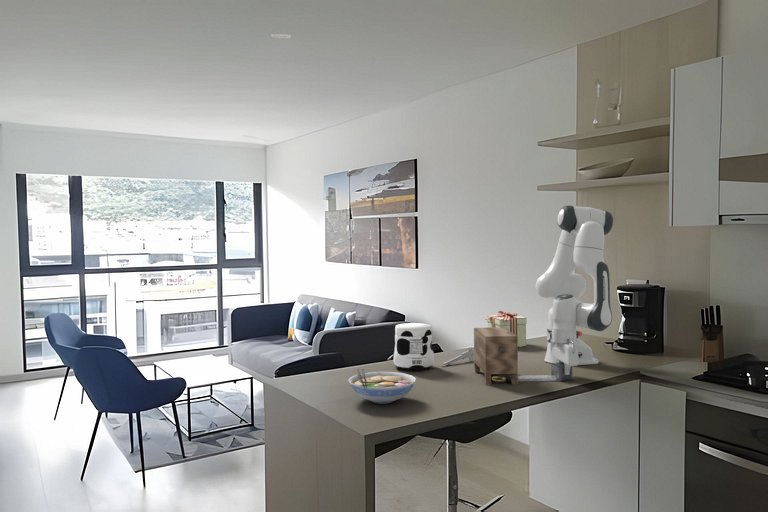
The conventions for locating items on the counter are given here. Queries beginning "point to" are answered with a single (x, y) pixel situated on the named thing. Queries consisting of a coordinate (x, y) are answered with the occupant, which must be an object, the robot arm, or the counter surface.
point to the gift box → (510, 324)
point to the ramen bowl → (382, 385)
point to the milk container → (413, 346)
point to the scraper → (556, 375)
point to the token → (498, 378)
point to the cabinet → (496, 353)
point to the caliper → (462, 356)
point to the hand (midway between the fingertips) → (564, 372)
